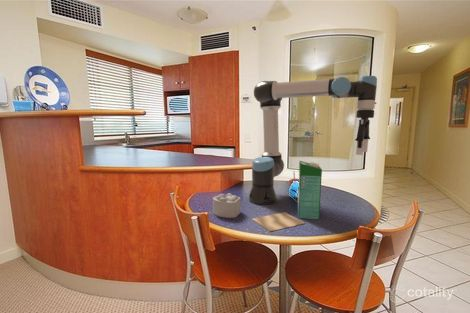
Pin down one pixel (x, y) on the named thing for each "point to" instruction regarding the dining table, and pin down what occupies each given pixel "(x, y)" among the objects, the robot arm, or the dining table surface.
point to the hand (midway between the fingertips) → (361, 153)
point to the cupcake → (293, 180)
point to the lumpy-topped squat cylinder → (227, 205)
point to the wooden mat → (277, 221)
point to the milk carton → (309, 190)
